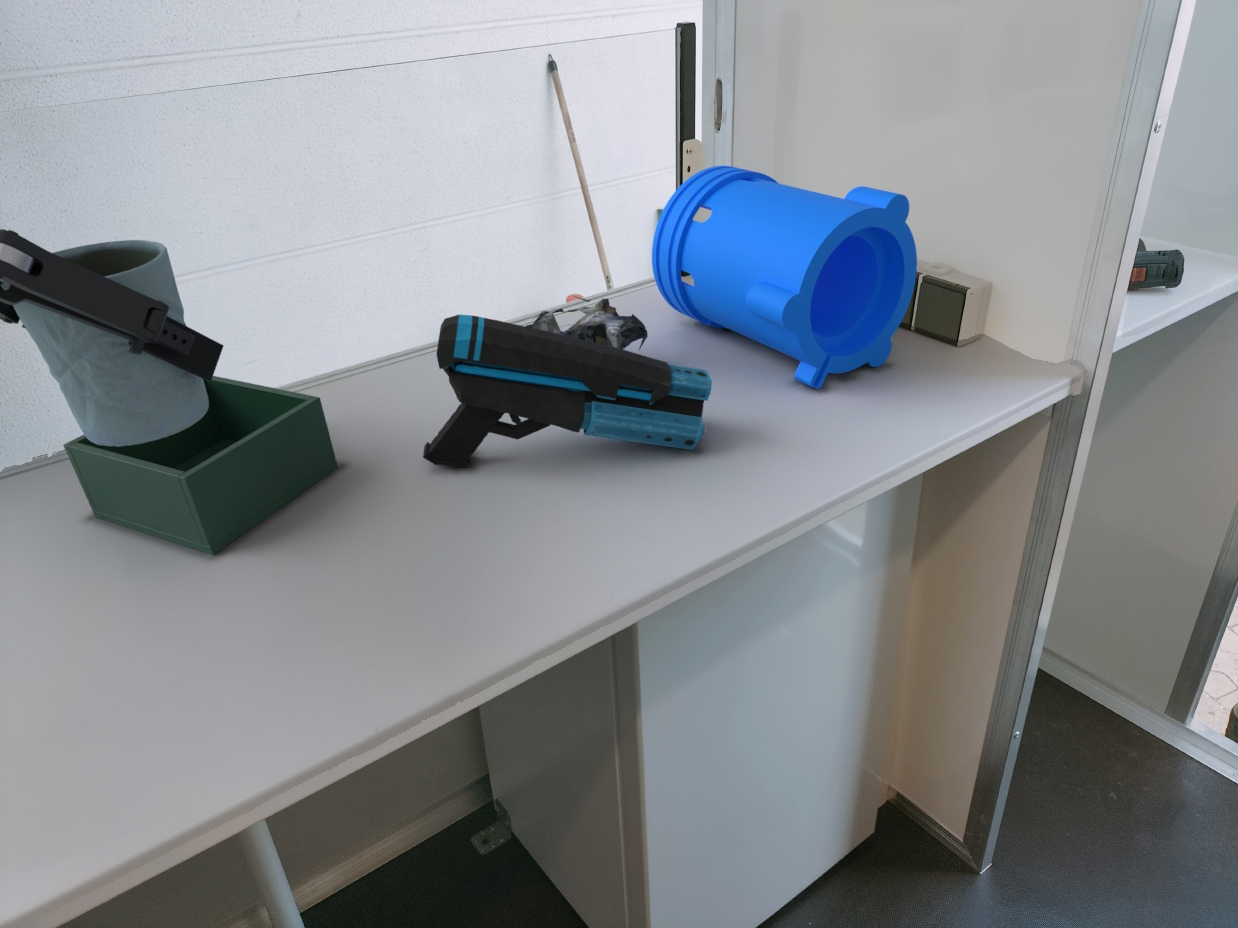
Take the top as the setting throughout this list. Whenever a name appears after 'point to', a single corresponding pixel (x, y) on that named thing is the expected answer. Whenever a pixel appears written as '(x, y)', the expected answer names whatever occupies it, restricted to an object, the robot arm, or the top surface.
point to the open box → (211, 467)
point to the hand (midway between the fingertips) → (161, 353)
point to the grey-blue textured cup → (118, 354)
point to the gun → (559, 389)
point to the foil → (597, 325)
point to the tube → (789, 266)
